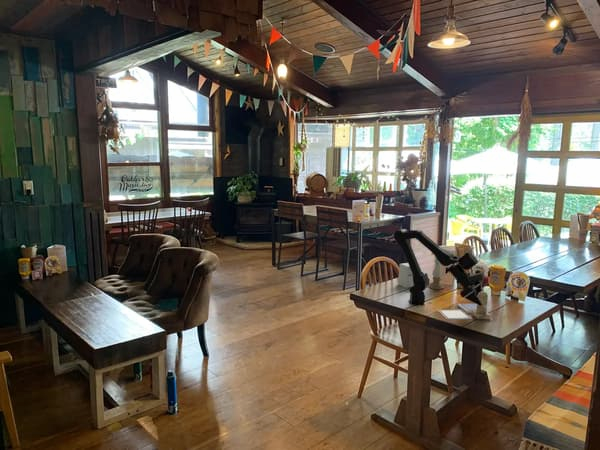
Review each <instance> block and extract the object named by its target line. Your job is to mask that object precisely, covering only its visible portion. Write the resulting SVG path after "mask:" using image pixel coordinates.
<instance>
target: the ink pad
mask: <svg viewBox="0 0 600 450" xmlns="http://www.w3.org/2000/svg"><path fill="white" fill-rule="evenodd" d="M457 307H459V308H460V310H462V311H463V312H465V313H466V314H472V310H476V308H477V304H476V303H458V304H457Z"/></svg>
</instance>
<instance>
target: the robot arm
mask: <svg viewBox="0 0 600 450" xmlns="http://www.w3.org/2000/svg"><path fill="white" fill-rule="evenodd" d="M393 238H394V240H395V242H396V243H397V245H398V246H399V247H400V248H401V250H402V252H403V255H404V257H405V259H406V261H407V262H406V263H408V264H409V267H410V269H411V271H412V274H413V283H414V286H412V287H409V288H408V290H409V291H408V292H409V293H410V294H409V299H408V302H409V303H410V304H411V306H425V305H426V304H425V302H426V295H425V292H424V291H425V290H426V289H427V288H429V287H428V286H429V284H430V283H431V282H430V281H431V279H430V278H429V276H428V273H427V272H425V273H424V272H423V271H422V269H421V266H420V264H419V262H418V260H417V259H418V258H416V255H415V252H414V249H413V247H412V245H411V240H413V239H416V240H417V241H418V242H419V243H420V244H421V245H423V246H424V247H425V248H426V249H427V250H429V251H430V252H431V254H432V253H433V254H434V255H433V254H432V255H433V256H434V257H435V256H436V258H437V260H438V261H439V262H440V265H442V266H443V267H445V272H444V273H445V274H448V273H450V274H451V275H452V277H454V279H455V280H456V283H457V284H459V285H460V286H461V288H462V289H461V291H460V292H459V295H460V297H461V298H463V299H466V300H468V301H470V302H472V303H473V304H478V305H479V306H481V305H482V303H481V302H480V300H479V298H478V293H479V292H481V291H483V289H482V285H483V283H482V281H484V280H485V278H486V277H485V273H484V272H483V271H481V270H480V269H478V270H476V271H475V273H473V274H471V273H470V272H467V271H469V270H471V269H472V268H473V267H475V266H476V265H478V264H479V260H478V259H477V257H476V256H474V254H472V253H470V251H467V252H466V253H464V255H462V256H458V255H457V256H456V255H455V254H453V252H450V251H449V250H447V249H444V248H443V247H440V246H439V244H437V243H436V242H435V241H433V240H432V239H431V238H430V237H429V236H427V235H426V234H425V233H424V231H422V230H421V229H416V230H415V229H414V230H413V229H411V230H410V229H409V230H408V229H406V228H401V229H399V230H397V231H395V232H394V234H393ZM436 258H435V259H436ZM448 266H449V267H448ZM466 270H467V271H466Z"/></svg>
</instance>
